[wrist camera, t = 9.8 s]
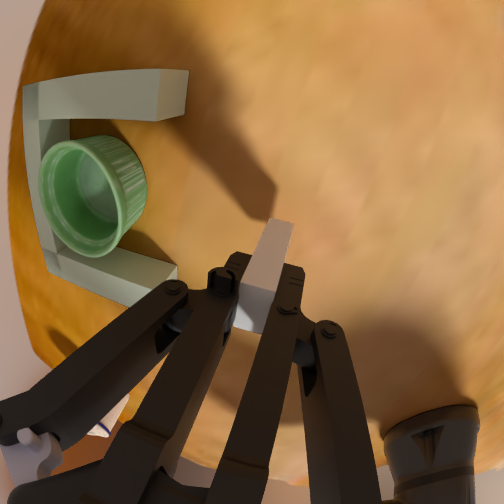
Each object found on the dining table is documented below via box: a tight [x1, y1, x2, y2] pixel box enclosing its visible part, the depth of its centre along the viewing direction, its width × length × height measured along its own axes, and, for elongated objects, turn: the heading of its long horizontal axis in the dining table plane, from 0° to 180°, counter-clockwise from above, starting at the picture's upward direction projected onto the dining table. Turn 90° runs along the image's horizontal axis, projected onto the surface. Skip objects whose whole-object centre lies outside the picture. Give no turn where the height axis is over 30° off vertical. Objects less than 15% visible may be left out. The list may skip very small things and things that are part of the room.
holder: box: [23, 69, 189, 307], centre depth 19 cm, size 14×18×4 cm
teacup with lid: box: [87, 393, 129, 437], centre depth 38 cm, size 12×9×12 cm
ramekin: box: [38, 135, 147, 257], centre depth 19 cm, size 9×9×4 cm
